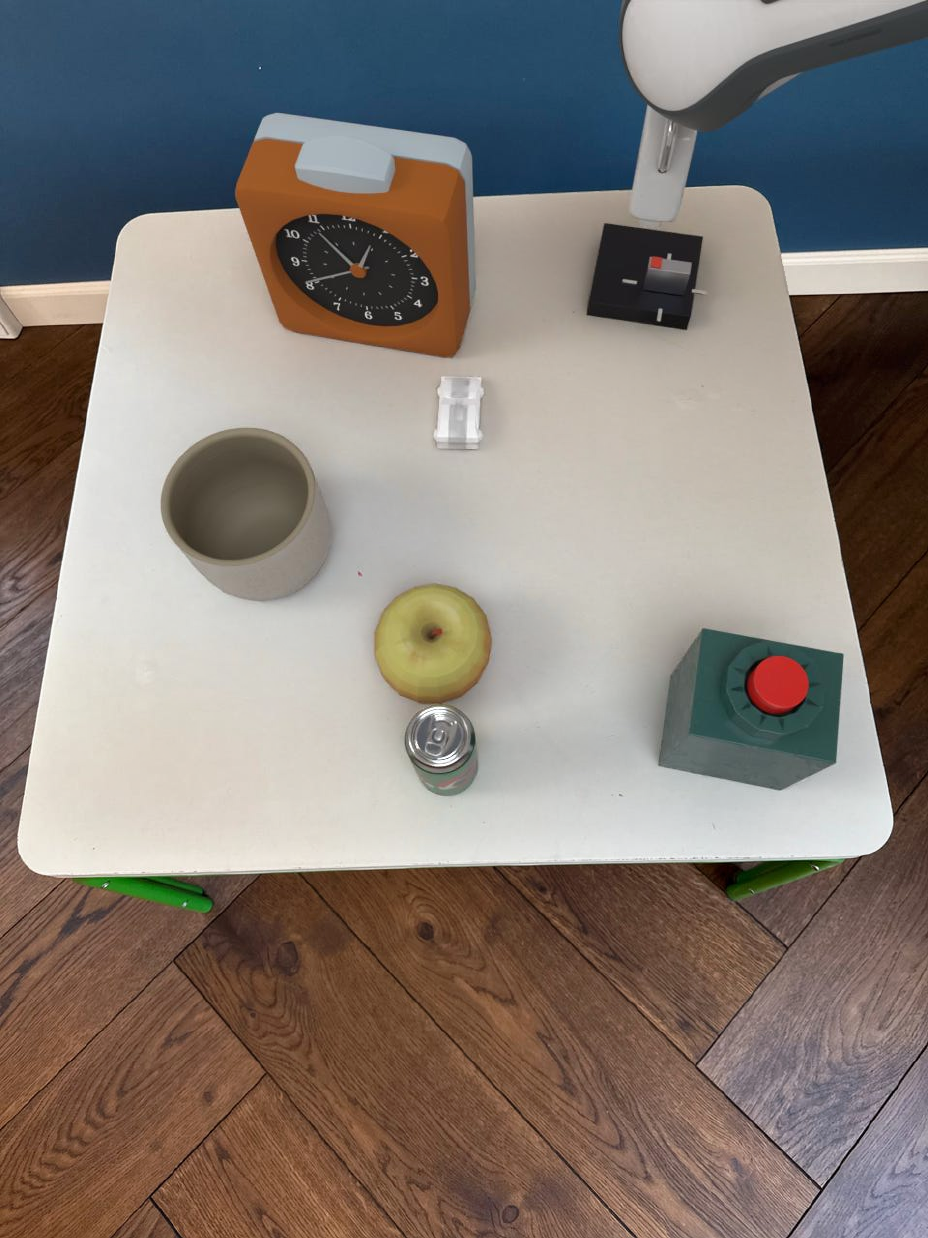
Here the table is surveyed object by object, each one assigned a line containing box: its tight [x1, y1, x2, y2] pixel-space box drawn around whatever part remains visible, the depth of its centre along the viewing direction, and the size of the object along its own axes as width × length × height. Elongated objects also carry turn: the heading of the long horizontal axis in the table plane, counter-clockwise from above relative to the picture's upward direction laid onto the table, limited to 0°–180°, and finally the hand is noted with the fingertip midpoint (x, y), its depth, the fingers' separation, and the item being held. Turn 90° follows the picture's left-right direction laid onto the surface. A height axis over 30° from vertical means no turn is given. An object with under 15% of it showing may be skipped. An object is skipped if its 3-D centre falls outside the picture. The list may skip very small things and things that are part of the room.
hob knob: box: [643, 256, 692, 296], centre depth 84 cm, size 4×1×3 cm, turn 78°
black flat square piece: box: [586, 222, 708, 331], centre depth 87 cm, size 11×11×2 cm
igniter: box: [658, 627, 845, 791], centre depth 66 cm, size 10×8×14 cm
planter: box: [160, 427, 331, 602], centre depth 74 cm, size 12×12×11 cm
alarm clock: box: [234, 112, 477, 358], centre depth 78 cm, size 18×9×21 cm, turn 77°
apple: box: [373, 583, 493, 705], centre depth 72 cm, size 10×10×8 cm
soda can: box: [404, 703, 479, 797], centre depth 67 cm, size 5×5×12 cm
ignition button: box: [747, 656, 809, 714], centre depth 59 cm, size 4×4×2 cm
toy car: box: [433, 375, 485, 450], centre depth 83 cm, size 5×8×2 cm, turn 177°
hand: (657, 176), depth 72 cm, fingers open, 8 cm apart
